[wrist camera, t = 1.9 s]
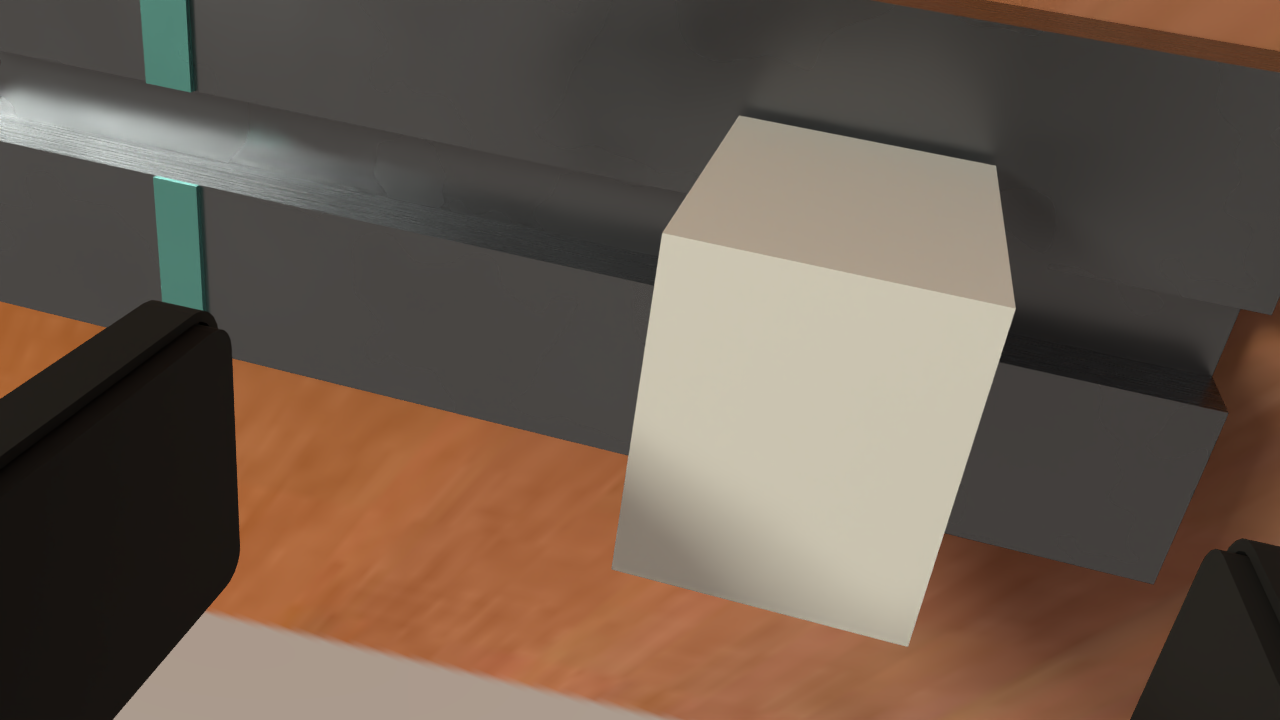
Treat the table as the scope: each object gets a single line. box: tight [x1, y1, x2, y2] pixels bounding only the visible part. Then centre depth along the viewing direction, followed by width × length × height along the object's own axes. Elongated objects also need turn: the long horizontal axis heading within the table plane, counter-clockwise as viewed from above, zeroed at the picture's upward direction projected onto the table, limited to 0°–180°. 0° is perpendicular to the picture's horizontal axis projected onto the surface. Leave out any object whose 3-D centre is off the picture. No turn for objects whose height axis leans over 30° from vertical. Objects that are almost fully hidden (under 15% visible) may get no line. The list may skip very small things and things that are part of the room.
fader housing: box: [0, 0, 1280, 584], centre depth 19 cm, size 22×8×2 cm, turn 83°
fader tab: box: [612, 116, 1016, 647], centre depth 15 cm, size 4×4×6 cm
